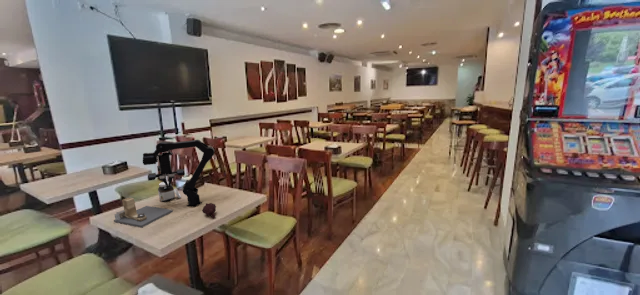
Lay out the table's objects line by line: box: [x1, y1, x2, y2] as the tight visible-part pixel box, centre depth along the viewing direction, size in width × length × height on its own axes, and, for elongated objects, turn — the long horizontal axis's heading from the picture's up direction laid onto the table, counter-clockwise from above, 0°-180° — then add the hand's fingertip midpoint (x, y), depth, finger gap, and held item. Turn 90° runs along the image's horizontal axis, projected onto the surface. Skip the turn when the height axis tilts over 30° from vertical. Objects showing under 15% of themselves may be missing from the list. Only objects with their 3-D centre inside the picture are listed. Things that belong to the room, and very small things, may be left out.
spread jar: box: [157, 180, 182, 203], centre depth 173 cm, size 12×11×12 cm
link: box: [121, 197, 147, 221], centre depth 145 cm, size 16×4×10 cm, turn 67°
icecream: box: [201, 202, 217, 219], centre depth 149 cm, size 7×7×15 cm
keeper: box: [113, 209, 145, 220], centre depth 147 cm, size 14×16×4 cm
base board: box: [113, 205, 174, 229], centre depth 150 cm, size 22×19×1 cm
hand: (168, 188), depth 157 cm, fingers closed
